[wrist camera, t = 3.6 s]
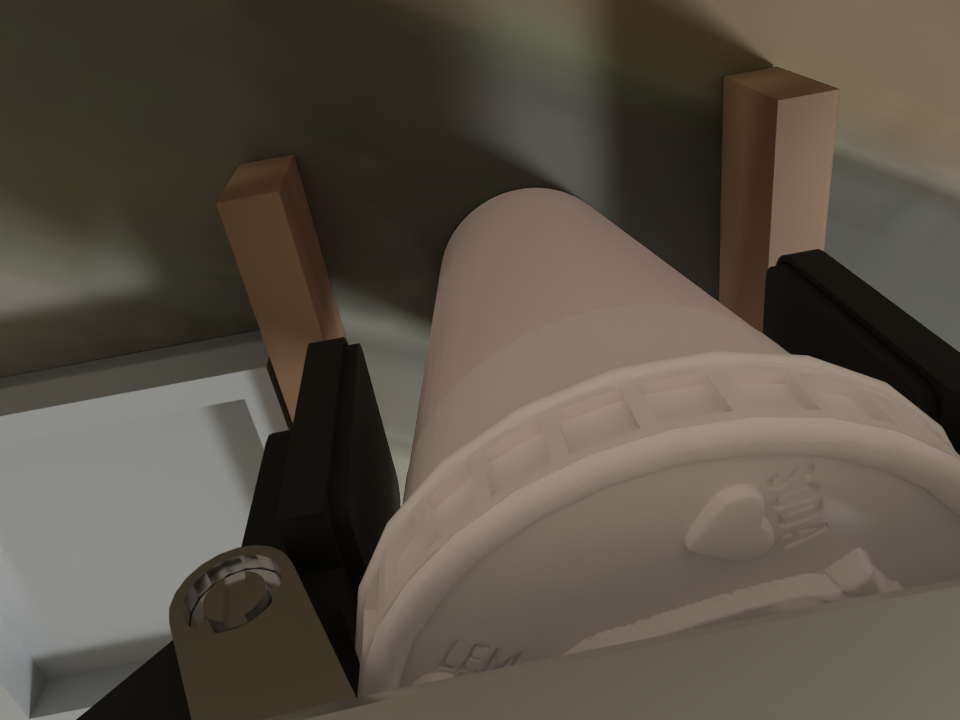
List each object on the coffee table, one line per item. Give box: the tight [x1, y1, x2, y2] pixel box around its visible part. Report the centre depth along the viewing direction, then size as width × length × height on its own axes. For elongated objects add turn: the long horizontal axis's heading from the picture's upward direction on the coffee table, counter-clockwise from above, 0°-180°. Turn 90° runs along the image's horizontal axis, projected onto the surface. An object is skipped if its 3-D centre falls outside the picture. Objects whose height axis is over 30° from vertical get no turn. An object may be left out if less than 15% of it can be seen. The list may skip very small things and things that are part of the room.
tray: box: [0, 330, 293, 720], centre depth 17 cm, size 9×9×2 cm
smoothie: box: [355, 188, 960, 697], centre depth 9 cm, size 6×6×14 cm
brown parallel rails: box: [216, 67, 840, 422], centre depth 14 cm, size 10×6×2 cm, turn 98°
